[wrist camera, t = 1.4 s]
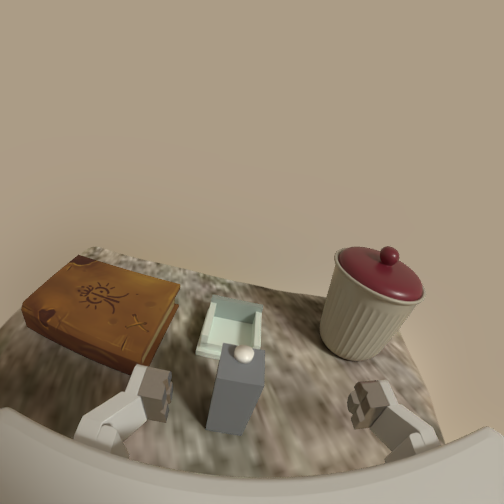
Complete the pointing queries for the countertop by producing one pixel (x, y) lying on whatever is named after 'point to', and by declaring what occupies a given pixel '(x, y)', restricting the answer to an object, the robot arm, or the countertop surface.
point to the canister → (367, 301)
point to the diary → (103, 312)
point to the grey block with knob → (236, 388)
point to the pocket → (229, 326)
